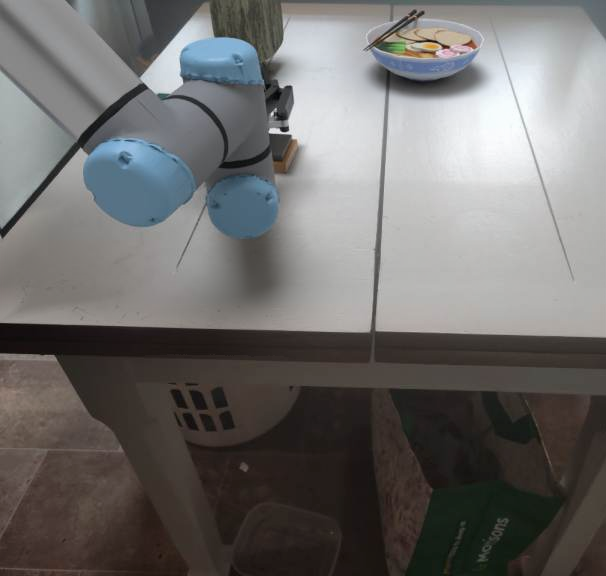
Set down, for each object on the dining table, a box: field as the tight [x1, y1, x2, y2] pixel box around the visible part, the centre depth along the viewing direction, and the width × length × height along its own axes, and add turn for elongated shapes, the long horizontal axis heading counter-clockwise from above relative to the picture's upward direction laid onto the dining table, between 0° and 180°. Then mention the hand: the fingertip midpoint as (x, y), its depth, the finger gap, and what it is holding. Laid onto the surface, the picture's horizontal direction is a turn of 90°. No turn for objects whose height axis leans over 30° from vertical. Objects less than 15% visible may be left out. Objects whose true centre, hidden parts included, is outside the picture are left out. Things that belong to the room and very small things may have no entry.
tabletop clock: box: [208, 0, 285, 74], centre depth 114 cm, size 14×9×25 cm, turn 171°
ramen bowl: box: [362, 9, 485, 83], centre depth 119 cm, size 25×23×8 cm
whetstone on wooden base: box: [269, 132, 299, 174], centre depth 95 cm, size 16×8×3 cm, turn 84°
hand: (231, 78), depth 92 cm, fingers closed on pump dispenser, 9 cm apart
